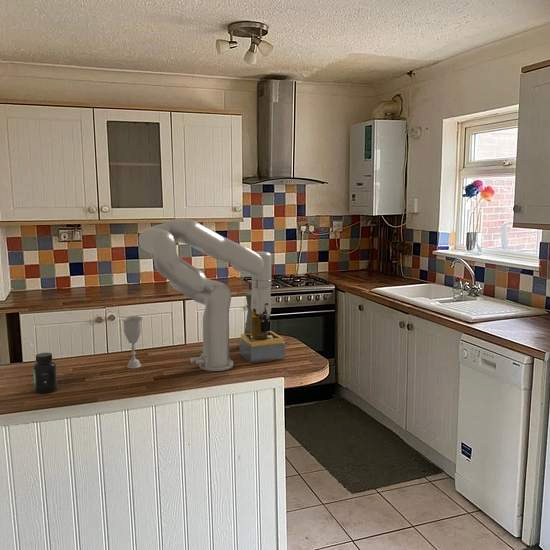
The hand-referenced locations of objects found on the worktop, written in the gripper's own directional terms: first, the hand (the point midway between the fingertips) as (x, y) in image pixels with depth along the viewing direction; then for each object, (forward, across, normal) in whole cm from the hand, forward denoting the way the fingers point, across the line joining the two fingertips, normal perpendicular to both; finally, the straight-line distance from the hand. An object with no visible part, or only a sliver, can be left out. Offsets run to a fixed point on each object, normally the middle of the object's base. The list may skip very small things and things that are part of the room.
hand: (261, 329), depth 209 cm
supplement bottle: (+11, +7, -78) cm, 79 cm away
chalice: (+11, -7, -48) cm, 50 cm away
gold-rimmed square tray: (+11, 0, +1) cm, 11 cm away
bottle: (+11, -14, +2) cm, 18 cm away
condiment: (+4, 0, 0) cm, 4 cm away
